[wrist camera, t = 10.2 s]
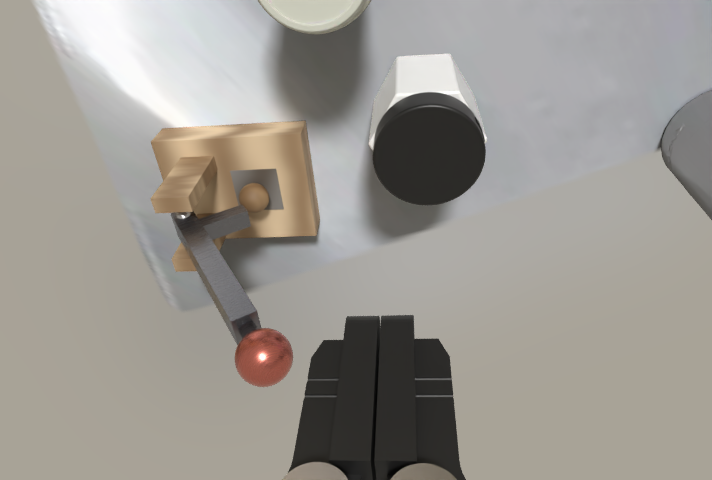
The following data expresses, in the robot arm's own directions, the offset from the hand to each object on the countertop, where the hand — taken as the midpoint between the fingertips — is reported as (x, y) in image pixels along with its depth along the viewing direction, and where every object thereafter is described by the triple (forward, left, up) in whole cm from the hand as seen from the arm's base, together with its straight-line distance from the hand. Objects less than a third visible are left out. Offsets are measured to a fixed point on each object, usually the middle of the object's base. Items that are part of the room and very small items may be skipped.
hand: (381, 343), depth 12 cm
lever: (+18, +16, -32) cm, 40 cm away
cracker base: (+16, +16, -39) cm, 45 cm away
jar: (-2, +9, -39) cm, 40 cm away
